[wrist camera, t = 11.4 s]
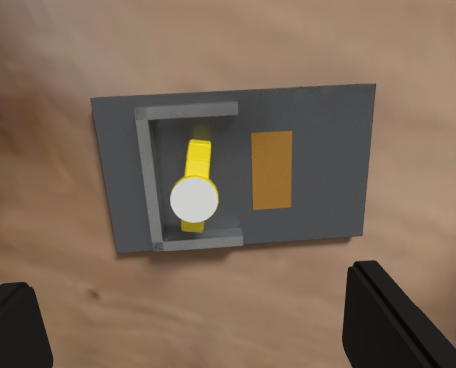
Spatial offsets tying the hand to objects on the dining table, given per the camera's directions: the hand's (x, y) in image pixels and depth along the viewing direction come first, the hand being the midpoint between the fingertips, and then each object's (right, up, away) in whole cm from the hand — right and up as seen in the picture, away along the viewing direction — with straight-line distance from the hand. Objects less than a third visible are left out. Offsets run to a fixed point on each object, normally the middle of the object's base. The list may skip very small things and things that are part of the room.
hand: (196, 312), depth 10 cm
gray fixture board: (+2, +5, +16) cm, 17 cm away
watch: (-1, +5, +15) cm, 15 cm away
